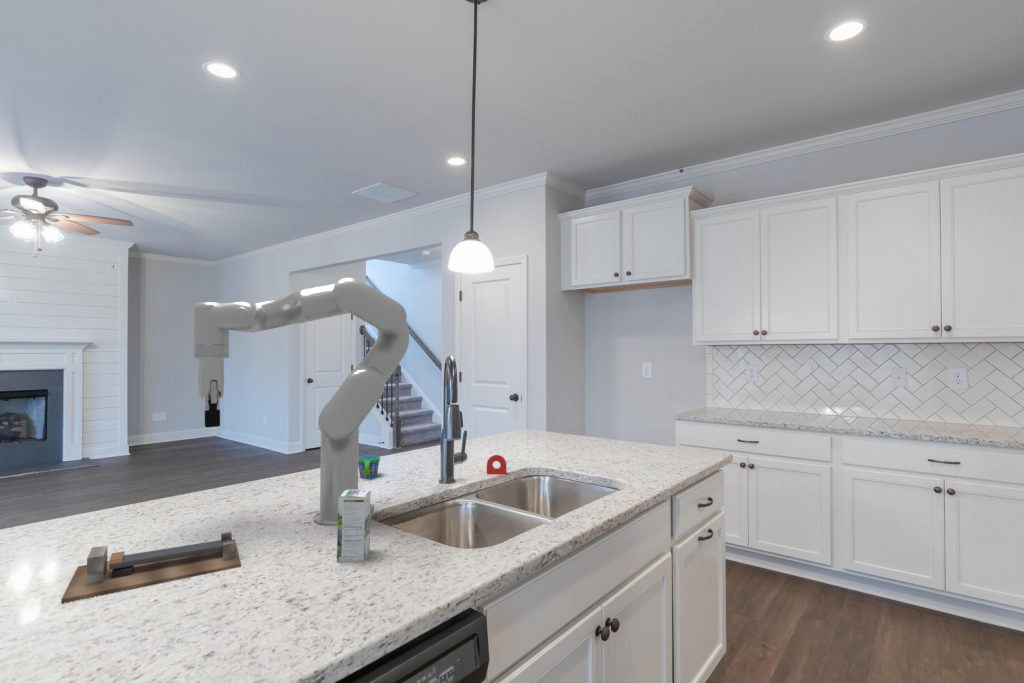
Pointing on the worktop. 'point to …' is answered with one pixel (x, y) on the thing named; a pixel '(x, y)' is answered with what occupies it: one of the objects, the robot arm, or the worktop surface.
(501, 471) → the bracket
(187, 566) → the latch board
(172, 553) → the strap
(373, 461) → the snack cup
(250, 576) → the worktop surface
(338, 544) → the syrup box
